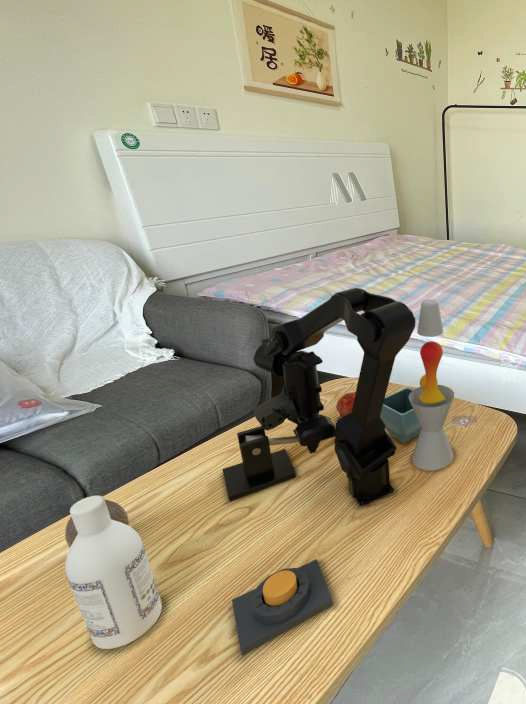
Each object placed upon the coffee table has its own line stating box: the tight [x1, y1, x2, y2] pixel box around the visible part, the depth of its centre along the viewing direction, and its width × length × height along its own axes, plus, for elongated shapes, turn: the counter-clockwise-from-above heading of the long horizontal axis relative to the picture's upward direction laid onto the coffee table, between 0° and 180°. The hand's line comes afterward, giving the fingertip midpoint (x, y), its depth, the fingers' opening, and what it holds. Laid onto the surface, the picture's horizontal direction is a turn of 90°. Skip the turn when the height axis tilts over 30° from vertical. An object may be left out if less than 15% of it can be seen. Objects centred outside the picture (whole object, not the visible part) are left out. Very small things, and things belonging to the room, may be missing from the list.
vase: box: [64, 499, 130, 548], centre depth 67 cm, size 7×7×9 cm
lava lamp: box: [409, 298, 455, 472], centre depth 86 cm, size 9×9×35 cm
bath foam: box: [64, 495, 163, 650], centre depth 54 cm, size 7×7×20 cm
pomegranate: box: [335, 391, 356, 419], centre depth 102 cm, size 7×7×10 cm
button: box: [263, 570, 297, 606], centre depth 60 cm, size 4×4×2 cm
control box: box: [231, 558, 334, 656], centre depth 60 cm, size 11×8×3 cm
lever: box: [244, 434, 300, 446], centre depth 85 cm, size 13×3×3 cm, turn 128°
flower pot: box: [380, 387, 422, 443], centre depth 98 cm, size 9×9×9 cm
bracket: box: [221, 425, 297, 503], centre depth 83 cm, size 11×9×9 cm
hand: (310, 448), depth 89 cm, fingers closed on lever, 3 cm apart
